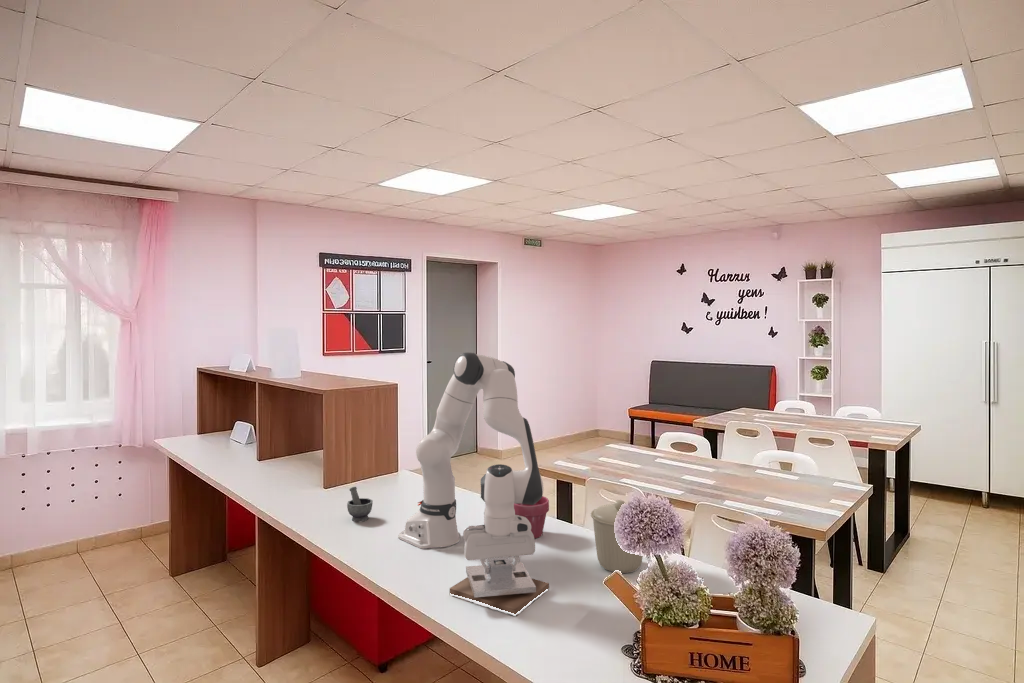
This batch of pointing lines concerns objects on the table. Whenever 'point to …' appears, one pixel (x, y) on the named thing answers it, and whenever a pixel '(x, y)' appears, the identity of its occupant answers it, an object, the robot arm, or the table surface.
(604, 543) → the canister
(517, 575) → the flange plate
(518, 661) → the table surface
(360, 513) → the mortar and pestle
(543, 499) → the plant pot
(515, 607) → the post base
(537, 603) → the table surface
